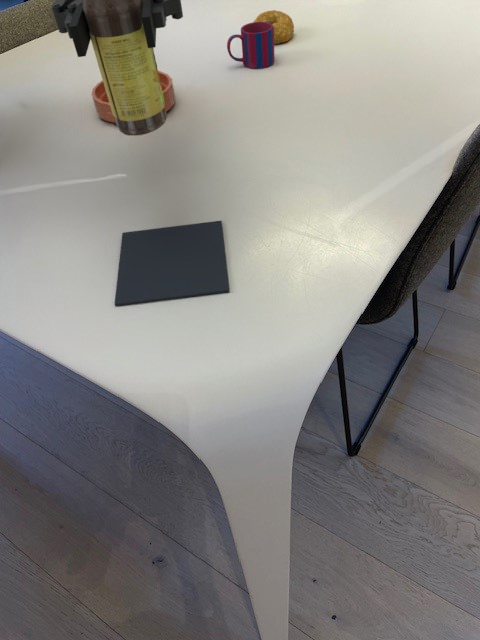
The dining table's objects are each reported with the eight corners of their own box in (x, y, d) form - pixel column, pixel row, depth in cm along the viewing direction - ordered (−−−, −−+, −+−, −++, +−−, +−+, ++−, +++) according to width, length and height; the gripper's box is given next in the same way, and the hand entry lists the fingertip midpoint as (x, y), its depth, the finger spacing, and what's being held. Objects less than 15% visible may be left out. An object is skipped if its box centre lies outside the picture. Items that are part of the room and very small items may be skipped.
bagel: (239, 41, 114) (237, 18, 111) (273, 27, 119) (272, 4, 115) (268, 51, 109) (267, 27, 106) (303, 36, 113) (303, 12, 110)
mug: (278, 65, 103) (277, 29, 98) (232, 74, 103) (229, 38, 97) (269, 54, 108) (268, 19, 103) (225, 62, 107) (221, 27, 102)
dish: (94, 130, 91) (87, 109, 88) (102, 95, 101) (96, 75, 98) (175, 120, 91) (171, 98, 88) (175, 86, 101) (171, 65, 98)
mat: (115, 306, 60) (114, 304, 60) (123, 234, 69) (122, 232, 69) (229, 292, 60) (229, 289, 59) (221, 222, 69) (221, 220, 69)
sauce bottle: (178, 122, 59) (141, -91, 44) (138, 144, 56) (84, -76, 41) (145, 108, 62) (100, -95, 47) (105, 128, 60) (44, -81, 45)
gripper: (40, -54, 60) (-4, 5, 45) (196, -73, 60) (206, -22, 45) (61, 15, 66) (29, 89, 50) (204, -3, 66) (216, 65, 50)
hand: (113, 37), depth 47 cm, fingers closed on sauce bottle, 6 cm apart
